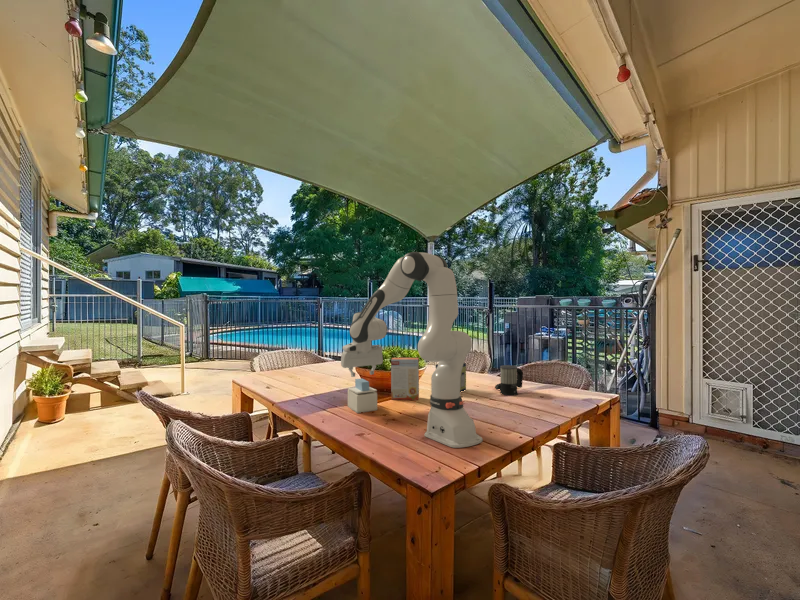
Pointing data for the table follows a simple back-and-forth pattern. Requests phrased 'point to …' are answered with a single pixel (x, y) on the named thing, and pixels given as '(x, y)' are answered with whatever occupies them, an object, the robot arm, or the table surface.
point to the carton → (362, 401)
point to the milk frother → (510, 380)
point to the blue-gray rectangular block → (362, 384)
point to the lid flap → (361, 391)
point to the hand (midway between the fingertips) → (362, 375)
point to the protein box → (462, 378)
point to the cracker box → (405, 379)
